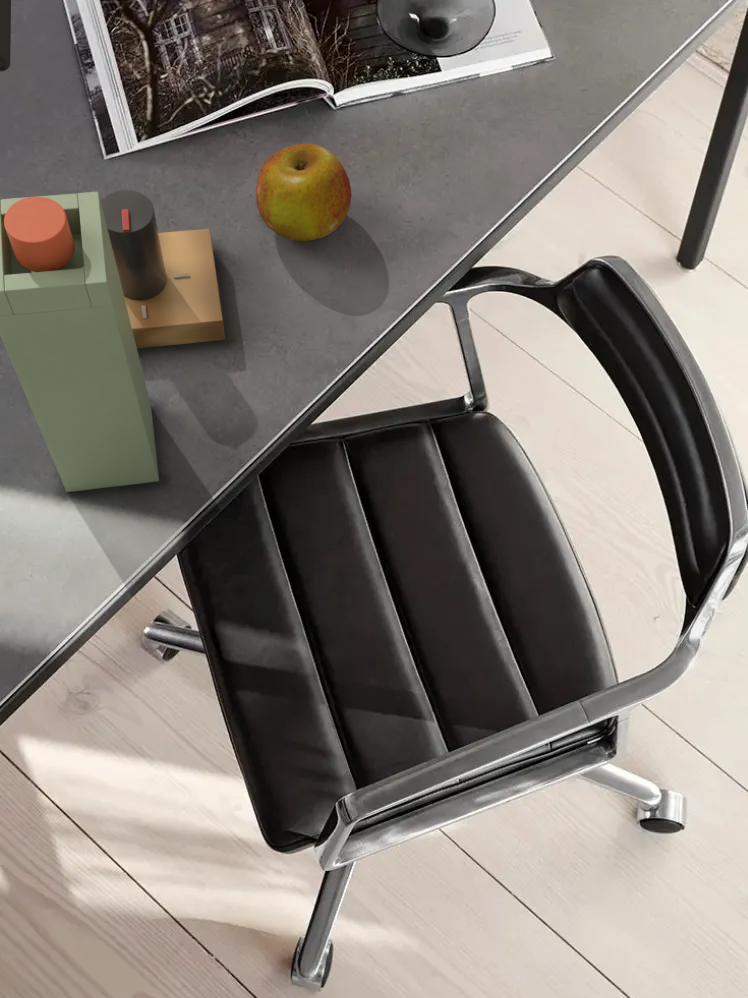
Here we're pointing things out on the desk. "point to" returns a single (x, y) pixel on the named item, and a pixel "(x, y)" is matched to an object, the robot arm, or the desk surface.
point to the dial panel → (181, 295)
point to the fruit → (303, 192)
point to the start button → (39, 234)
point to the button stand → (79, 355)
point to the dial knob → (135, 243)
